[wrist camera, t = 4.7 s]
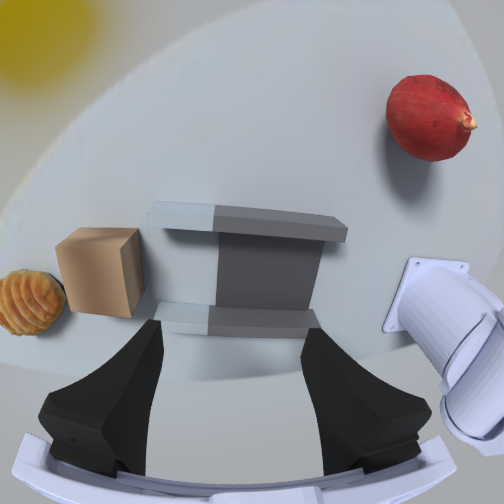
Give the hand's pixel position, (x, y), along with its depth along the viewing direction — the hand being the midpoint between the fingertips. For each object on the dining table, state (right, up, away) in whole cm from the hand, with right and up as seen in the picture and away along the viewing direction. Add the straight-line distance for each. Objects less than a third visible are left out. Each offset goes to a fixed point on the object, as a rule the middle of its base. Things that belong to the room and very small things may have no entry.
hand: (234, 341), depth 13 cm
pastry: (-21, 0, +7) cm, 22 cm away
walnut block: (-10, +4, +6) cm, 12 cm away
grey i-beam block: (0, +3, +8) cm, 8 cm away
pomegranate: (+12, +14, +4) cm, 19 cm away
